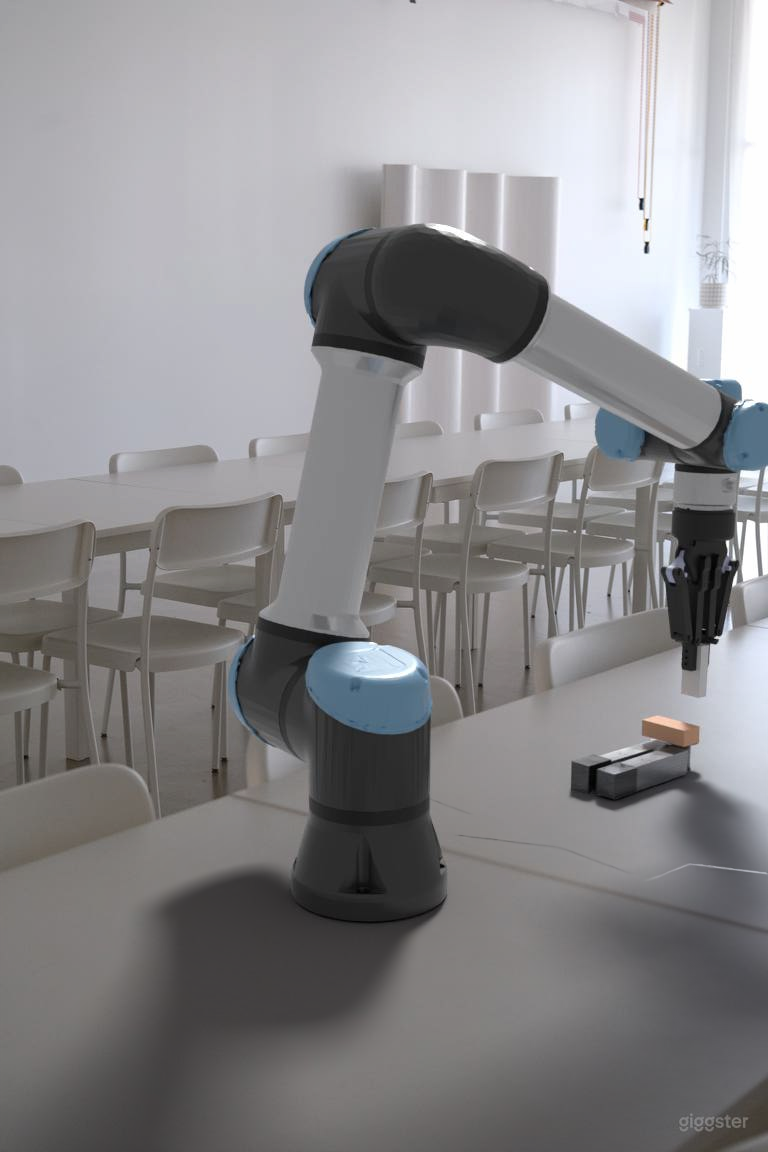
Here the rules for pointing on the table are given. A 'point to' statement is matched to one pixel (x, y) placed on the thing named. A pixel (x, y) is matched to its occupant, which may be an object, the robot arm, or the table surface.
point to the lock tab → (670, 731)
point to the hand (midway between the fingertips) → (693, 694)
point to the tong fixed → (611, 762)
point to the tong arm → (641, 772)
